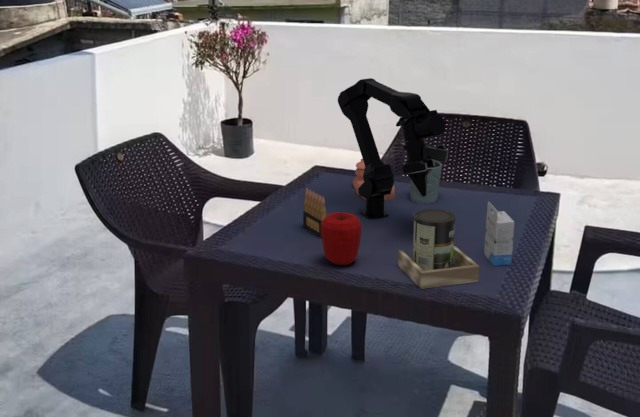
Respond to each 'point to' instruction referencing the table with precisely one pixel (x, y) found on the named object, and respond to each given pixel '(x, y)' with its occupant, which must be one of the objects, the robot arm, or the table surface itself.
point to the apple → (341, 237)
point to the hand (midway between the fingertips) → (424, 196)
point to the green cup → (428, 186)
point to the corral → (441, 271)
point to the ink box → (498, 237)
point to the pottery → (359, 180)
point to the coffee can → (433, 239)
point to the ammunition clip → (313, 212)
